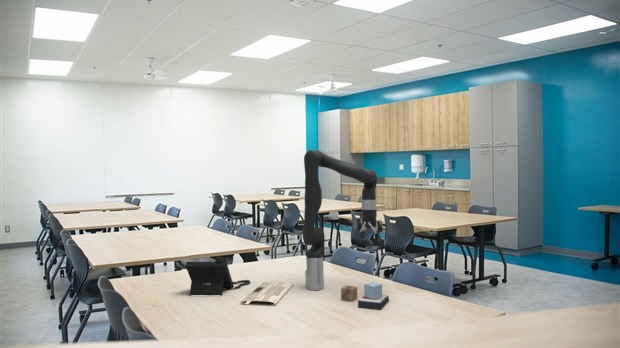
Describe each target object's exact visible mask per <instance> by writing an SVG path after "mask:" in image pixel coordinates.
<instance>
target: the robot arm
mask: <svg viewBox="0 0 620 348" xmlns="http://www.w3.org/2000/svg"><path fill="white" fill-rule="evenodd" d="M303 156H304V157H303V166H304V175H305V176H304V177H305V178H304V214H303V216H304V218H303V227H302V240H303V243H304V244H305V245H306V246H311V247H310V248H309V249H308V250H307V251H306V253H305V257H306V258H305V261H306V265H305V266H306V270H304V271H305V273H304V274H305V276H304V277H305V288H306V289H307V290H309V291H321V290H324V288H325V279H324V278H325V274H324V252H325V243H326V242H325V241H326V240H325V239H326V237H325V231H324V229H323V228H322V227H320V226H315V225H316V224H315V223H316V218H317V216H318V213H319V211H320V209H321V207H322V202H323V199H322V198H323V196H322V195H323V191H322V190H323V189H322V187H321V184H320V181H319V175H318V174H319V167H320V168H325V169H326V168H327V169H328V170H332V171H334V172H336V173H338V174H340V175H342V176H345V177H348V178H351V179H354V180H356V181H359V182H361V183H363V188H362V190H361V217H362V218H357V222H356V223H357V224H356V227H357V229H356V230H357V231H359V232H360V239H361V240H365V239H366V229H371V230H372V231H373V232H374V241H375V242H378V241H379V239H380V233H382V232H383V222H382V220H378V219H377V217H378V215H377V213H378V212H377V208H378V207H377V197H376V196H377V195H376V193H377V192H376V189H377V185H378V184H377V182H378V176H377V173H376V171H375V170H374V169H370V168H369V169H366V168H364V167H360V166H359V165H357V164H353V163H350V162H347V161H344V160H340V159H338V158H334V157H332V156H330V155H328V154H326V153H324V152H322V151H321V150H318V149H310V150H308V151H306V152H305V154H304V155H303Z"/></svg>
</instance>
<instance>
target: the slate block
mask: <svg viewBox="0 0 620 348" xmlns="http://www.w3.org/2000/svg"><path fill="white" fill-rule="evenodd" d="M363 292H364V293H363V296H364V297H367V298H370V299H377V298H380V297H382V295H383V284H382V283H378V282H374V281H372V282H371V281H370V282H368V283H364V284H363Z"/></svg>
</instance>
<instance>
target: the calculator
mask: <svg viewBox="0 0 620 348" xmlns="http://www.w3.org/2000/svg"><path fill="white" fill-rule="evenodd" d="M389 301H390V296H389V295H388V294H382V297H380V298H377V299H370V298H367V297H364V295H363V296H362V297H361V298H360V299H359V300H357V308H358V309H365V310H372V311H373V310H375V311H382V310H383V308H384V307H385V306H387V304H388V302H389Z"/></svg>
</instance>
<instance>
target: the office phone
mask: <svg viewBox="0 0 620 348" xmlns="http://www.w3.org/2000/svg"><path fill="white" fill-rule="evenodd" d="M185 269H186V272H187V273H188V276H189V278H190V282H191V283H190V291H189V296H190V295H222V296H223V292H224V291H223V290H224V289H223V288H232V290H234V288H239V289H241V287H244V286H247V285H250V283H251V280H249V279H242V280H237V281H233V279H232V276H231V273H230V269H229V266H228V263H227V260H226V258H225V257H222V256H218V257H216V258H215V260H214V261H186V263H185ZM240 282H241V283H240ZM236 283H239V284H236ZM235 285H236V286H235ZM243 285H244V286H243ZM233 287H234V288H233Z"/></svg>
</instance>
